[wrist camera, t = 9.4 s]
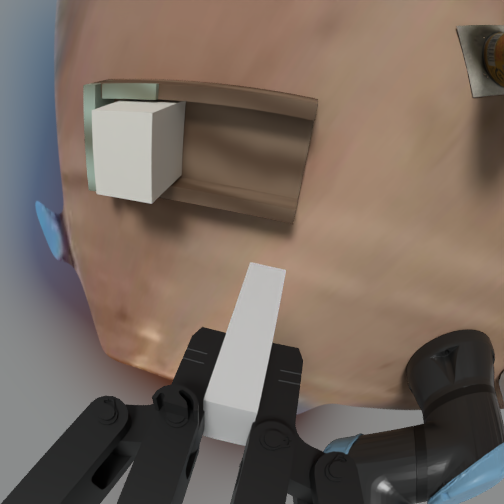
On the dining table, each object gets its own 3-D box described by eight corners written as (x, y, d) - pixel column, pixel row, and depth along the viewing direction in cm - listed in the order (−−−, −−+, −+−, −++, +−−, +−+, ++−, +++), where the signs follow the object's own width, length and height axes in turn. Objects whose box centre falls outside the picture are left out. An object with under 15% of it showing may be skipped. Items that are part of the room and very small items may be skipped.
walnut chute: (295, 208, 34) (292, 229, 30) (110, 174, 35) (88, 190, 32) (317, 99, 27) (317, 105, 23) (108, 79, 29) (83, 85, 25)
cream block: (181, 175, 33) (151, 203, 27) (132, 167, 33) (96, 193, 28) (185, 99, 28) (152, 113, 22) (132, 96, 29) (91, 110, 23)
